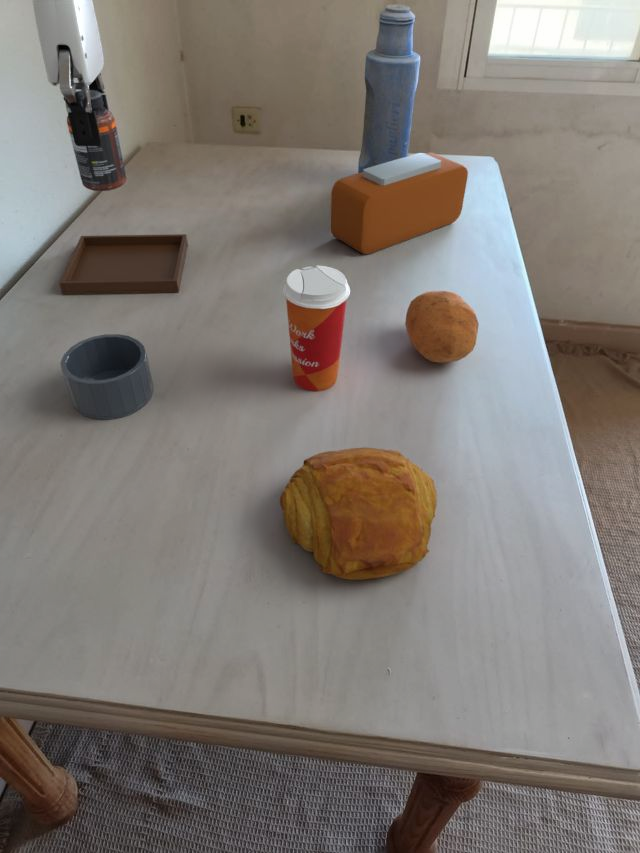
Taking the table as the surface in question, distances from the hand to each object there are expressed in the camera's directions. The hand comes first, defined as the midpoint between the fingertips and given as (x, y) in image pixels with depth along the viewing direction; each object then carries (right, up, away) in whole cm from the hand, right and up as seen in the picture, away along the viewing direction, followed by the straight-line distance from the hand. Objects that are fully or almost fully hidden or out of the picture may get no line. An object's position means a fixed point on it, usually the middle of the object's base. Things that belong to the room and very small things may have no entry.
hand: (94, 134), depth 82 cm
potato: (+45, -28, +3) cm, 53 cm away
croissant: (+33, -48, -19) cm, 62 cm away
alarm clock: (+43, -3, +30) cm, 52 cm away
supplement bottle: (0, -5, +5) cm, 7 cm away
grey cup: (+4, -34, -4) cm, 34 cm away
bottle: (+42, +11, +45) cm, 62 cm away
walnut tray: (-1, -13, +18) cm, 22 cm away
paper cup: (+29, -32, -1) cm, 43 cm away
